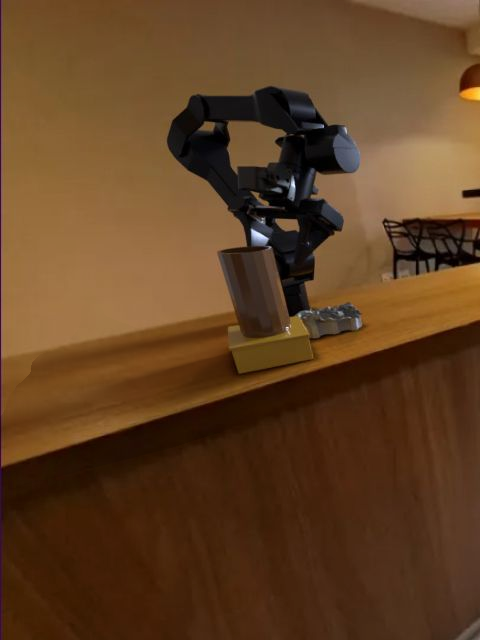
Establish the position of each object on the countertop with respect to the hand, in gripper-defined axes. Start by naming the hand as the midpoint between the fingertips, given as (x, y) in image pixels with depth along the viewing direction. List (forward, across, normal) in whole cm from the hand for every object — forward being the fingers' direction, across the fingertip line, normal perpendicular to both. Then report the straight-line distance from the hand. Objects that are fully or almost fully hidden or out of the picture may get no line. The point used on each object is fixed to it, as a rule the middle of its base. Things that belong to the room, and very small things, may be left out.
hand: (273, 262), depth 71 cm
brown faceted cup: (+11, +4, -2) cm, 12 cm away
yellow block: (+15, +4, +1) cm, 15 cm away
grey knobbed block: (+8, +4, +11) cm, 14 cm away
